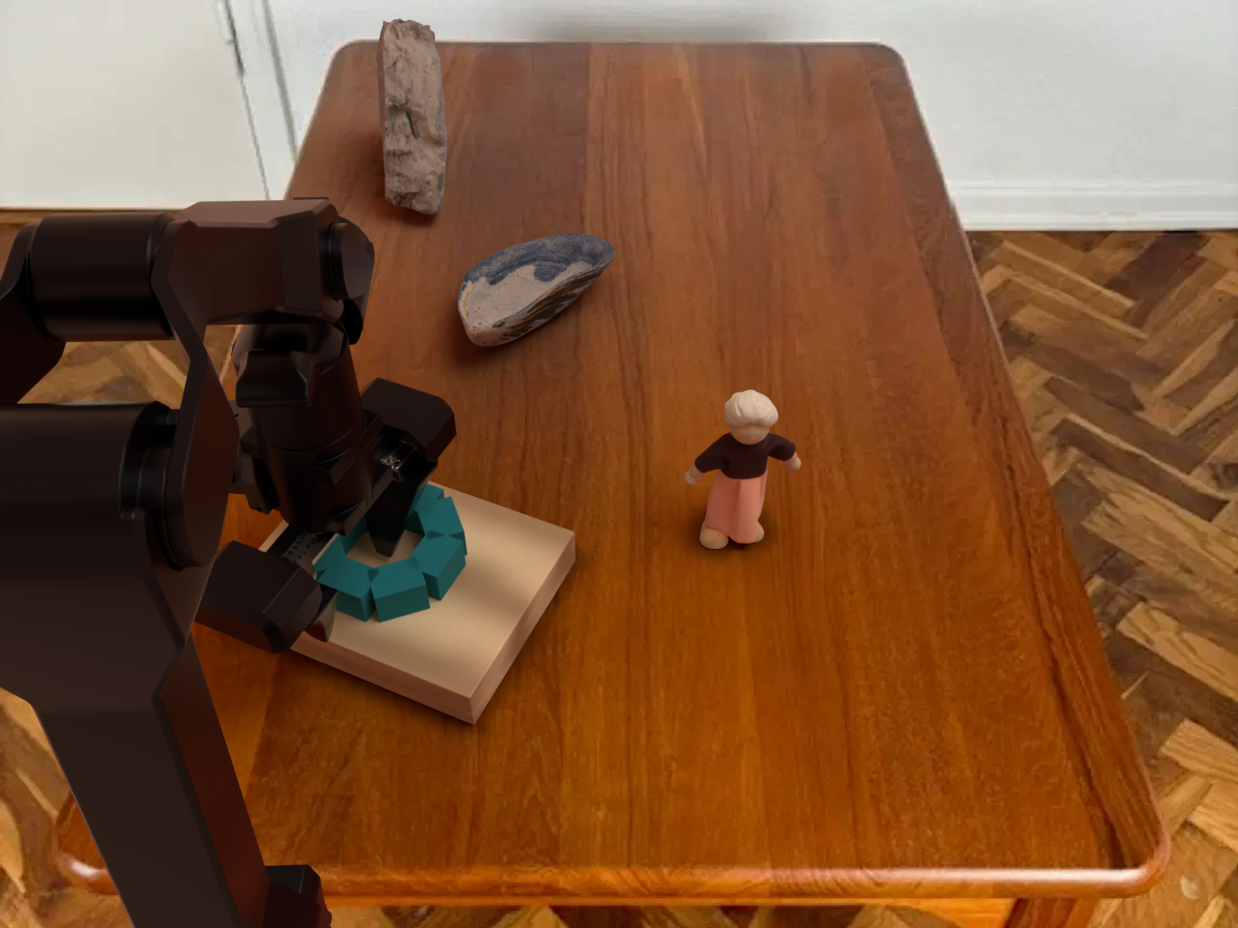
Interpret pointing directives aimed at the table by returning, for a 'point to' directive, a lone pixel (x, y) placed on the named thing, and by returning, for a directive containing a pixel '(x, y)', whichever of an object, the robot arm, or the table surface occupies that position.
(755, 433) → the grandmother figurine
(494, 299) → the seashell
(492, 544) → the board
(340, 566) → the ring
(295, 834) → the table surface
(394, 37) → the decorative rock
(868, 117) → the table surface
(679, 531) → the table surface
